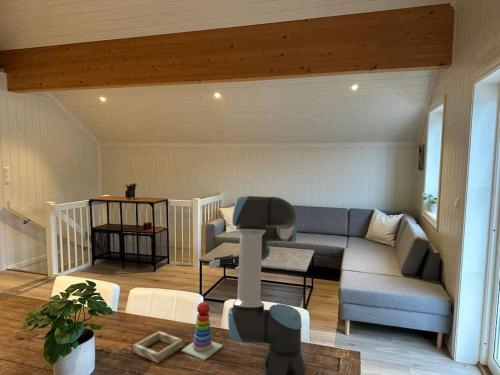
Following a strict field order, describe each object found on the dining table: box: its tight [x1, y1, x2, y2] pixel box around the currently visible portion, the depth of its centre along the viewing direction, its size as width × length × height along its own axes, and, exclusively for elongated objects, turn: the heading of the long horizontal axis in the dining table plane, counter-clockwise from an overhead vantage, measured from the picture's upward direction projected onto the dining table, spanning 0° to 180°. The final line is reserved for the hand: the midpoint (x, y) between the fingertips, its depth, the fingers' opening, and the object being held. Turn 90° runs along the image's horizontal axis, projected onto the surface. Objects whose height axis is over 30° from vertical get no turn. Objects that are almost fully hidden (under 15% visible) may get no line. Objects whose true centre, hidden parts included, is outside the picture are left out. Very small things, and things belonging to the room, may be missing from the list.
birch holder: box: [132, 330, 184, 363], centre depth 141 cm, size 14×14×3 cm
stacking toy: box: [192, 301, 212, 351], centre depth 141 cm, size 8×8×19 cm
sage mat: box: [180, 340, 224, 361], centre depth 141 cm, size 12×12×1 cm
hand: (222, 268), depth 146 cm, fingers open, 13 cm apart
